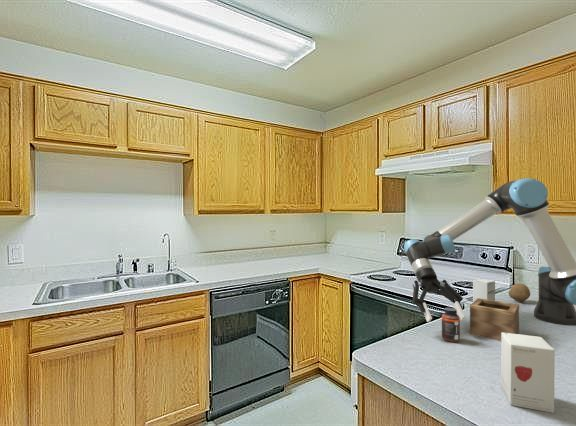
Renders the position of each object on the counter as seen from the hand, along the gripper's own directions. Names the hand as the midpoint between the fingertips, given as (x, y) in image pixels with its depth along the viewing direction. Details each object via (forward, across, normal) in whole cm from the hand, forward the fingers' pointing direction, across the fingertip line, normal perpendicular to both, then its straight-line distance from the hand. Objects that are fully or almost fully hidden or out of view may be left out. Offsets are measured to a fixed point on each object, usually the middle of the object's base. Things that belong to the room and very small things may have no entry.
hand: (446, 319), depth 120 cm
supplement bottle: (+6, -1, -4) cm, 7 cm away
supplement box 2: (+33, +5, +23) cm, 40 cm away
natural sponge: (-22, -68, -32) cm, 78 cm away
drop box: (+4, -22, -6) cm, 23 cm away
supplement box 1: (-21, -46, -31) cm, 59 cm away
